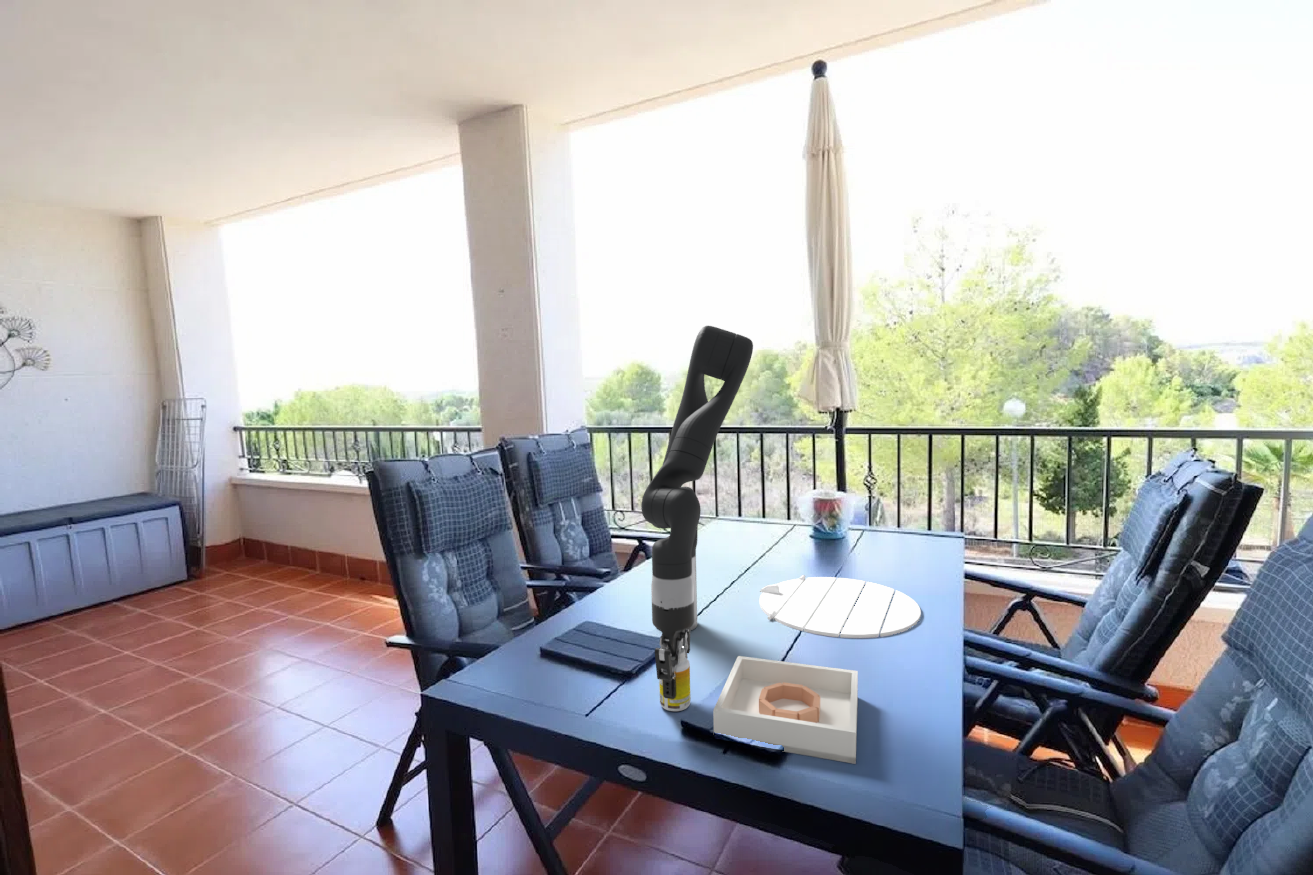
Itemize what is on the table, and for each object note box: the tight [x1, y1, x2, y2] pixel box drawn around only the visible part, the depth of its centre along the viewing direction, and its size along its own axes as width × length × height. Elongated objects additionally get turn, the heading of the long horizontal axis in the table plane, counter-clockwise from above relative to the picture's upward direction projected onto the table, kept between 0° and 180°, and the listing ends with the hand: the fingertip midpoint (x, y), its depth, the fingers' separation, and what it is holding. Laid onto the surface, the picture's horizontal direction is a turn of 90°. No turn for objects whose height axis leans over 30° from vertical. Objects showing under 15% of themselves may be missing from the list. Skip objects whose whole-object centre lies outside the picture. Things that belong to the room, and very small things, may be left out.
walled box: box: [712, 655, 859, 765], centre depth 104 cm, size 22×20×5 cm
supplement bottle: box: [658, 648, 692, 712], centre depth 109 cm, size 6×6×10 cm
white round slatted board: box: [758, 574, 922, 639], centre depth 154 cm, size 40×39×3 cm
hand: (674, 688), depth 109 cm, fingers closed on supplement bottle, 5 cm apart
